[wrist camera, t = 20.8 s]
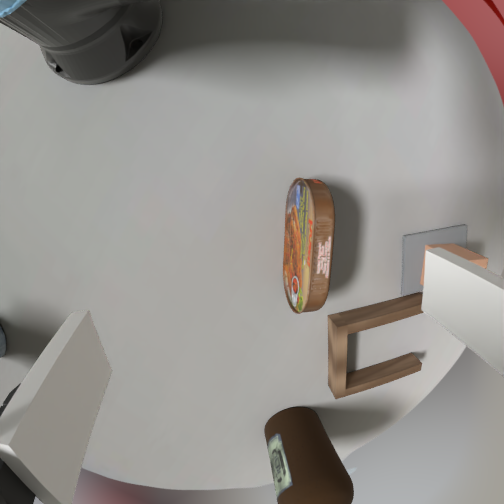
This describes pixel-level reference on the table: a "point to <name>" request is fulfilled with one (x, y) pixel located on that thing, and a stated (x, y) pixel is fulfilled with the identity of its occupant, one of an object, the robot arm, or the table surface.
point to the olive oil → (305, 460)
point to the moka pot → (2, 343)
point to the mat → (416, 250)
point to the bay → (360, 321)
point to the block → (458, 251)
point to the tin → (308, 244)
